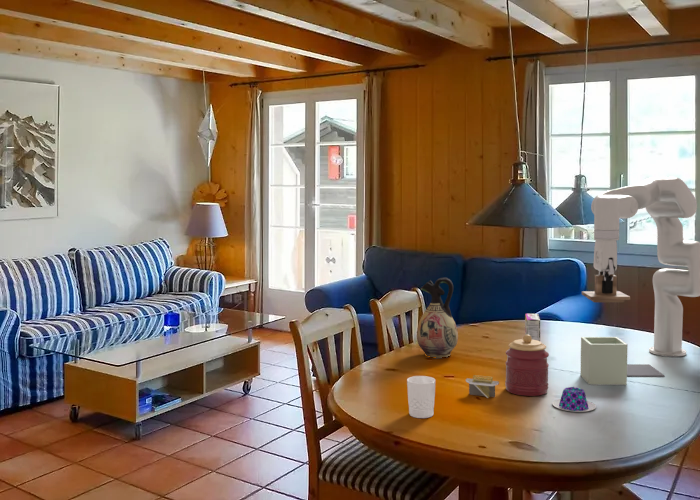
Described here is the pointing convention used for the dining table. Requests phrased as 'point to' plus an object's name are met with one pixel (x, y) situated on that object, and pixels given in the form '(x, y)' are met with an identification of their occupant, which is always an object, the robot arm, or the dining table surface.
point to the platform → (482, 386)
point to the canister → (527, 367)
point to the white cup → (421, 396)
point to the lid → (605, 297)
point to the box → (604, 360)
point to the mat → (642, 371)
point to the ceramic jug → (437, 322)
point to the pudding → (574, 400)
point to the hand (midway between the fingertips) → (605, 291)
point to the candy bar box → (532, 326)
